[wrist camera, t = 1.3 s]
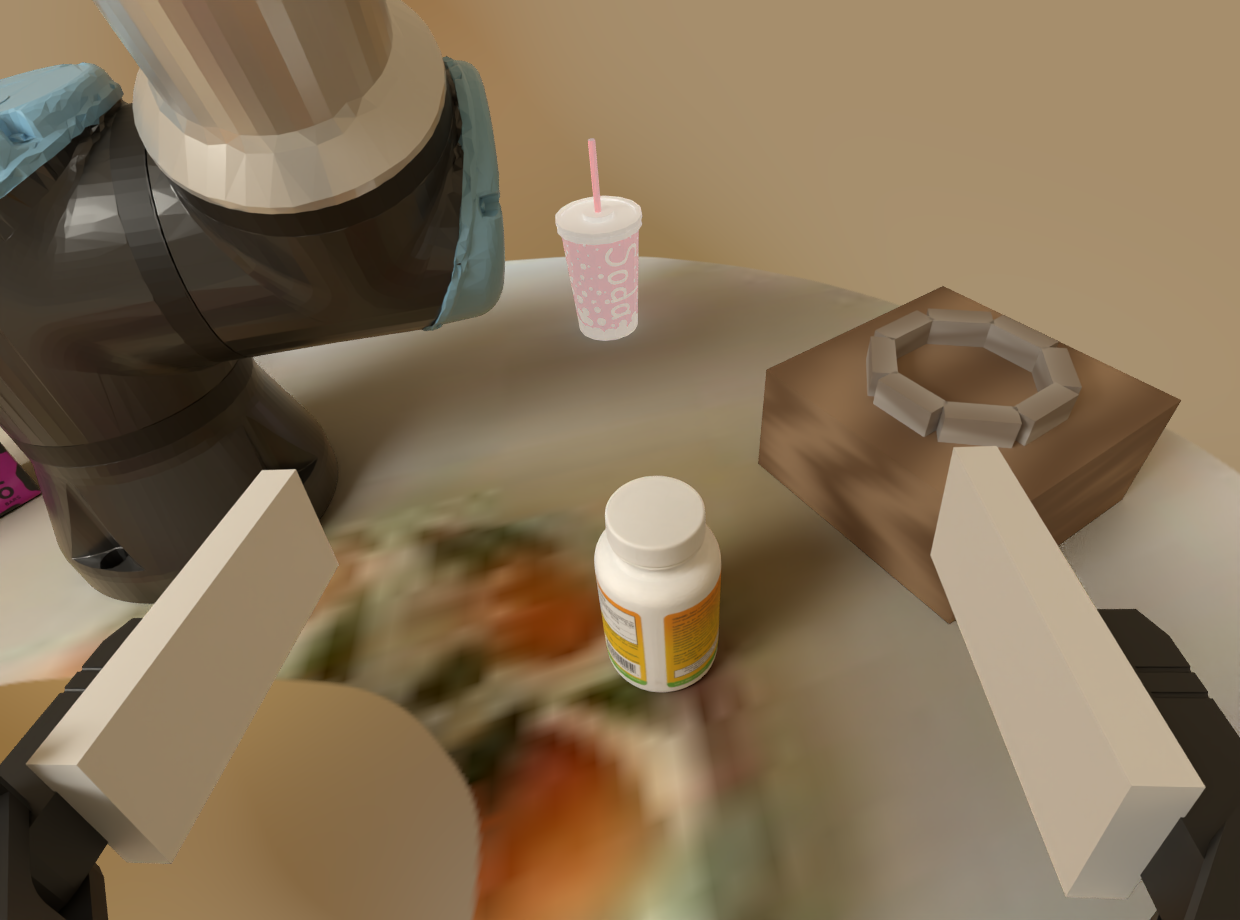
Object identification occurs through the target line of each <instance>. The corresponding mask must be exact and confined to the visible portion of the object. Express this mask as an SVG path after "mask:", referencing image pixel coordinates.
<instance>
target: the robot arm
mask: <svg viewBox="0 0 1240 920" xmlns="http://www.w3.org/2000/svg"><path fill="white" fill-rule="evenodd" d="M93 2H94V3H95V4H96V6H97V7H98V9H99V10H100V12H101V13H102V14H103V16H104V17H105V19H106V20H107V21H108V23H109V24H110V26H111V27H112V29H113V30H114V32H115V33H116V34H117V36H118V37H119V38H120V40H121V41H122V43H123V44H124V46H125V47H126V48H127V50H128V51H129V53H130V54H131V55H132V57H133V58H134V60H135V61H136V63H137V64H138V65H139V67H140V69H139V71H138V73H137V77H136V82H135V86H134V91H133V103H131V104H128V103H126V102H124V101H123V100H122V96H123V91H122V89H121V87H120V85H119V84H117V83H116V82H114V81H113V80H112V79H111V77H110V76H109V75H108V74H107V73H106V72H105V71H104V70H103V69H102V68H100V67H99V66H97V65H95V64H90V63H80V64H78V65H72V64H62V65H55V66H51V67H46V68H42V69H37V70H33V71H29V72H26V73H22V74H18V75H15V76H11V77H8V78H4V79H1V80H0V426H1V428H2V429H3V430H4V431H5V432H6V433H7V434H8V435H9V436H10V437H11V439H12V440H13V441H14V442H15V443H16V444H17V446H18V447H19V448H20V449H21V450H22V451H23V452H24V454H25V455H26V456H27V457H28V458H29V459H30V461H31V463H32V464H33V467H34V470H35V473H36V476H37V479H38V483H39V486H40V489H41V492H42V495H43V498H44V501H45V505H46V508H47V511H48V514H49V517H50V520H51V524H52V527H53V530H54V533H55V536H56V539H57V542H58V545H59V547H60V549H61V551H62V553H63V555H64V556H65V558H66V559H67V561H68V562H69V563H70V564H71V565H72V566H73V567H74V568H75V569H76V570H77V571H78V572H79V573H80V575H81V576H82V577H83V578H84V579H85V580H86V581H87V582H88V583H89V584H90V585H91V586H92V587H93V588H95V589H96V590H97V591H99V592H100V593H102V594H104V595H106V596H109V597H111V598H114V599H118V600H122V601H127V602H133V603H155V604H154V605H153V606H152V607H151V609H150V610H149V611H148V612H147V614H146V615H145V616H144V617H143V618H132V619H131V620H130V621H128V622H127V623H126V624H125V625H123V626H122V627H121V628H119V629H118V630H117V631H116V632H114V633H113V634H112V635H110V636H109V637H108V638H107V639H105V640H104V641H103V642H102V643H101V644H100V646H99V647H98V648H97V649H96V650H95V652H94V653H93V654H92V655H91V656H90V658H89V659H88V660H87V661H86V662H85V664H84V665H83V666H82V671H81V672H77V673H76V674H75V676H74V677H73V678H72V679H71V680H70V682H69V683H68V684H67V685H66V686H65V691H64V693H60V694H59V695H58V696H57V697H56V698H55V700H54V701H53V702H52V703H51V705H50V706H49V707H48V708H47V709H46V710H45V712H44V713H43V714H42V715H41V716H40V717H39V719H38V720H37V721H36V722H35V724H34V725H33V726H32V727H31V728H30V729H29V731H28V732H27V733H26V735H24V737H23V738H22V739H21V740H20V741H19V743H18V744H17V745H16V746H15V747H14V749H13V750H12V751H11V752H10V754H9V755H8V756H7V757H6V758H5V760H4V761H3V762H2V763H1V764H0V920H108V914H107V904H106V893H105V883H104V876H103V874H102V872H101V870H100V867H99V866H98V865H97V864H96V863H95V862H96V861H97V859H98V858H99V856H100V854H101V853H102V851H103V850H104V848H105V847H106V845H107V844H108V845H110V846H111V847H112V848H113V849H114V850H115V851H116V852H117V853H118V854H119V855H120V856H121V857H122V858H123V859H124V860H125V861H126V862H134V863H162V864H171V863H172V862H173V860H174V858H175V857H176V855H177V853H178V851H179V849H180V848H181V846H182V844H183V842H184V840H185V839H186V837H187V835H188V833H189V831H190V830H191V828H192V826H193V824H194V823H195V821H196V819H197V817H198V815H199V814H200V812H201V810H202V808H203V806H204V805H205V802H206V801H207V799H208V797H209V796H210V794H211V792H212V790H213V789H214V787H215V785H216V783H217V781H218V780H219V778H220V776H221V774H222V773H223V771H224V769H225V767H226V765H227V764H228V762H229V760H230V758H231V756H232V754H233V753H234V751H235V749H236V747H237V746H238V744H239V742H240V740H241V739H242V737H243V735H244V733H245V731H246V730H247V728H248V726H249V724H250V722H251V721H252V719H253V717H254V715H255V714H256V712H257V710H258V708H259V706H260V705H261V703H262V701H263V699H264V697H265V696H266V694H267V692H268V690H269V688H270V687H271V685H272V683H273V681H274V680H275V678H276V676H277V674H278V672H279V671H280V669H281V667H282V665H283V663H284V662H285V660H286V658H287V656H288V655H289V653H290V651H291V649H292V647H293V646H294V644H295V642H296V640H297V638H298V637H299V635H300V633H301V631H302V630H303V628H304V626H305V624H306V622H307V621H308V619H309V617H310V615H311V613H312V612H313V610H314V608H315V606H316V604H317V603H318V601H319V599H320V597H321V596H322V594H323V592H324V590H325V588H326V587H327V585H328V583H329V581H330V579H331V578H332V576H333V574H334V572H335V571H336V569H337V567H338V565H339V564H338V562H337V560H336V557H335V555H334V553H333V551H332V548H331V546H330V544H329V542H328V540H327V537H326V535H325V533H324V531H323V528H322V526H321V524H320V522H319V519H320V518H321V516H322V515H323V513H324V512H325V510H326V508H327V507H328V505H329V503H330V501H331V499H332V496H333V494H334V491H335V488H336V484H337V479H338V465H337V460H336V457H335V454H334V452H333V450H332V448H331V446H330V444H329V441H328V439H327V437H326V435H325V433H324V431H323V429H322V428H321V426H320V425H319V423H318V422H317V421H316V420H315V418H314V417H313V416H312V415H311V414H310V413H309V412H307V411H306V410H305V409H304V408H303V407H302V406H301V405H300V404H299V403H298V402H297V401H296V400H295V399H294V398H293V397H291V396H290V395H289V394H288V393H287V392H286V391H285V390H284V389H283V388H282V387H281V386H280V385H279V384H278V383H277V382H276V381H274V380H273V379H272V378H271V377H270V376H269V375H268V374H267V373H266V372H265V371H264V370H263V369H262V368H261V367H260V366H259V365H258V364H257V363H256V362H255V360H254V358H253V357H254V356H260V355H266V354H272V353H278V352H284V351H290V350H296V349H301V348H307V347H313V346H319V345H325V344H331V343H337V342H343V341H350V340H356V339H363V338H369V337H376V336H382V335H389V334H395V333H402V332H408V331H415V330H421V329H422V330H424V331H429V330H435V329H438V328H440V327H442V325H443V324H446V323H451V322H455V321H460V320H464V319H469V318H473V317H477V316H481V315H483V314H485V313H487V312H488V311H489V310H491V309H492V308H493V307H494V306H495V304H496V303H497V301H498V300H499V298H500V295H501V293H502V289H503V284H504V273H505V249H504V230H503V217H502V211H501V206H500V204H499V197H500V192H499V173H498V164H497V156H496V149H495V142H494V135H493V130H492V123H491V117H490V111H489V107H488V102H487V98H486V93H485V89H484V85H483V82H482V80H481V77H480V74H479V72H478V71H477V69H476V68H475V67H474V66H473V65H472V64H470V63H468V62H465V61H456V60H453V59H451V58H449V57H447V56H446V57H443V58H442V54H441V51H440V49H439V47H438V45H437V42H436V41H435V39H434V36H433V35H432V33H431V31H430V29H429V27H428V26H427V24H426V23H425V22H424V21H423V20H422V19H421V18H420V16H419V15H418V14H417V13H416V12H415V11H414V10H412V9H411V8H410V7H409V6H407V5H406V4H405V3H404V2H403V1H401V0H93ZM930 555H931V558H932V560H933V563H934V565H935V568H936V570H937V573H938V575H939V578H940V581H941V583H942V586H943V588H944V591H945V593H946V596H947V598H948V601H949V603H950V606H951V608H952V611H953V613H954V616H955V618H956V621H957V623H958V626H959V629H960V631H961V634H962V636H963V639H964V641H965V644H966V646H967V649H968V651H969V654H970V656H971V659H972V661H973V664H974V666H975V669H976V672H977V674H978V677H979V679H980V682H981V684H982V687H983V689H984V692H985V694H986V697H987V699H988V702H989V704H990V707H991V709H992V712H993V714H994V717H995V720H996V722H997V725H998V727H999V730H1000V732H1001V735H1002V737H1003V740H1004V742H1005V745H1006V747H1007V750H1008V752H1009V755H1010V757H1011V760H1012V763H1013V765H1014V768H1015V770H1016V773H1017V775H1018V778H1019V780H1020V783H1021V785H1022V788H1023V790H1024V793H1025V795H1026V798H1027V800H1028V803H1029V806H1030V808H1031V811H1032V813H1033V816H1034V818H1035V821H1036V823H1037V826H1038V828H1039V831H1040V833H1041V836H1042V838H1043V841H1044V843H1045V846H1046V848H1047V851H1048V854H1049V856H1050V859H1051V861H1052V864H1053V866H1054V869H1055V871H1056V874H1057V876H1058V879H1059V881H1060V884H1061V886H1062V889H1063V891H1064V894H1065V897H1076V898H1103V899H1128V897H1129V896H1130V894H1131V893H1132V891H1133V890H1134V889H1135V887H1136V886H1137V884H1138V883H1139V882H1140V880H1141V879H1142V880H1143V882H1144V884H1145V886H1146V888H1147V890H1148V892H1149V894H1150V896H1151V898H1152V901H1153V903H1154V905H1155V907H1156V909H1157V911H1156V912H1155V914H1154V915H1153V916H1152V918H1151V919H1150V920H1240V737H1239V736H1238V734H1237V733H1236V732H1235V730H1234V729H1233V727H1232V726H1231V724H1230V723H1229V721H1228V720H1227V719H1226V717H1225V716H1224V714H1223V713H1222V711H1221V710H1220V708H1219V707H1218V706H1217V704H1216V703H1215V701H1214V700H1213V699H1210V698H1209V697H1208V691H1207V690H1206V688H1205V687H1204V685H1203V684H1202V683H1201V681H1200V680H1199V678H1198V677H1197V675H1196V674H1195V673H1192V672H1191V671H1190V665H1189V664H1188V662H1187V661H1186V659H1185V658H1184V657H1183V655H1182V654H1181V652H1180V651H1179V649H1178V648H1177V646H1176V645H1175V644H1174V642H1173V641H1172V639H1171V638H1170V636H1169V635H1168V634H1166V633H1165V632H1164V631H1163V630H1161V629H1160V628H1159V627H1158V626H1156V625H1155V624H1154V623H1153V622H1151V621H1150V620H1149V619H1148V618H1146V617H1145V616H1144V615H1143V614H1141V613H1140V612H1139V611H1138V610H1136V609H1096V607H1095V606H1094V604H1093V602H1092V601H1091V599H1090V598H1089V596H1088V594H1087V593H1086V591H1085V589H1084V588H1083V586H1082V585H1081V583H1080V581H1079V580H1078V578H1077V576H1076V575H1075V573H1074V571H1073V570H1072V568H1071V567H1070V565H1069V563H1068V562H1067V560H1066V558H1065V557H1064V555H1063V553H1062V552H1061V550H1060V549H1059V547H1058V545H1057V544H1056V542H1055V540H1054V539H1053V537H1052V536H1051V534H1050V532H1049V531H1048V529H1047V527H1046V526H1045V524H1044V522H1043V521H1042V519H1041V518H1040V516H1039V514H1038V513H1037V511H1036V509H1035V508H1034V506H1033V504H1032V503H1031V501H1030V500H1029V498H1028V496H1027V495H1026V493H1025V491H1024V490H1023V488H1022V487H1021V485H1020V483H1019V482H1018V480H1017V478H1016V477H1015V475H1014V473H1013V472H1012V470H1011V469H1010V467H1009V465H1008V464H1007V462H1006V460H1005V459H1004V457H1003V455H1002V454H1001V452H1000V451H999V449H998V447H997V446H977V447H953V452H952V457H951V461H950V466H949V471H948V475H947V480H946V484H945V489H944V494H943V498H942V503H941V508H940V512H939V517H938V522H937V526H936V531H935V536H934V540H933V545H932V550H931V554H930Z"/></svg>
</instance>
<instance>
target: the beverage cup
mask: <svg viewBox="0 0 1240 920" xmlns="http://www.w3.org/2000/svg"><path fill="white" fill-rule="evenodd" d="M588 147H589V157H590V167H591V176H592V177H591V178H592V188H593V197H588V198H584V199H581V200H577V201H573V202H571V203H569V204H568V205H566V206H564V207H562V208H561V209H560V210H559V211H558V213H557V214H556V226H557V231H558V234H559V235H560V236H561V237H562V240H563V245H564V250H565V256H566V261H567V266H568V271H569V276H570V281H571V286H572V291H573V296H574V301H575V306H576V311H577V316H578V321H579V326H580V330H581V332H582V333H583V334H584V335H585V336H587V337H589V338H592V339H595V340H603V341H607V340H616V339H619V338H622V337H625V336H627V335H629V334H630V333H632V332H633V331H634V330H635V328H636V327H637V325H638V239H639V238H638V237H639V236H638V235H639V228H640V227H641V225H642V222H641V218H642V212H641V208H640V206H639V205H638V204H636V203H635V202H634V201H632V200H629V199H625V198H622V197H614V196H600V191H599V179H598V168H597V157H596V145H595V139H593V138H592V139H588Z"/></svg>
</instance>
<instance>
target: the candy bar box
mask: <svg viewBox="0 0 1240 920" xmlns="http://www.w3.org/2000/svg"><path fill="white" fill-rule="evenodd" d="M40 493H42V492H41V490H40V489H39V487H38V486H37V485H36V483H35V482H34V481H33V480H32V479H31V478H30V476H29V475H28V474H27V473H26V472H25V471H24V469H23V468H22V467H21V466H20V465H19V463H18V462H17V461H16V460H15V459H14V457H13V456H12V455H11V454H10V453H9V452H8V451H7V449H6V448H5V447H4V446H3V445H2V444H1V443H0V516H2V515H4V514H6V513H7V512H9V511H11V510H13V509H15V508H16V507H18V506H20V505H22V504H23V503H25V502H27V501H29V500H30V499H32V498H34V497H36V496H37V495H39V494H40Z"/></svg>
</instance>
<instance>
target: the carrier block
mask: <svg viewBox="0 0 1240 920" xmlns="http://www.w3.org/2000/svg"><path fill="white" fill-rule="evenodd" d="M1180 402H1181V400H1180V399H1178V398H1175V397H1173V396H1171V395H1169V394H1167V393H1165V392H1163V391H1161V390H1159V389H1157V388H1154V387H1153V386H1150V385H1148V384H1146V383H1144V382H1142V381H1140V380H1138V379H1136V378H1134V377H1131V376H1129V375H1127V374H1125V373H1123V372H1121V371H1119V370H1117V369H1115V368H1113V367H1111V366H1108V365H1106V364H1104V363H1102V362H1100V361H1098V360H1096V359H1094V358H1092V357H1090V356H1088V355H1085V354H1083V353H1082V352H1079V351H1077V350H1075V349H1073V348H1071V347H1069V346H1067V345H1065V344H1063V343H1061V342H1059V341H1057V340H1055V339H1053V338H1051V337H1048V336H1047V335H1045V334H1042V333H1040V332H1038V331H1036V330H1034V329H1032V328H1030V327H1028V326H1026V325H1024V324H1021V323H1020V322H1017V321H1015V320H1013V319H1011V318H1009V317H1007V316H1005V315H1002V314H1000V313H998V312H996V311H994V310H992V309H990V308H987V307H985V306H983V305H981V304H979V303H977V302H975V301H973V300H971V299H969V298H967V297H965V296H963V295H960V294H958V293H956V292H954V291H952V290H950V289H948V288H946V287H944V286H943V287H940V288H938V289H936V290H934V291H932V292H930V293H928V294H926V295H923V296H921V297H919V298H917V299H915V300H913V301H911V302H909V303H907V304H904V305H902V306H900V307H898V308H896V309H894V310H892V311H890V312H888V313H885V314H883V315H881V316H879V317H877V318H875V319H873V320H871V321H869V322H866V323H864V324H862V325H860V326H858V327H856V328H854V329H852V330H850V331H847V332H845V333H843V334H841V335H839V336H837V337H835V338H833V339H831V340H828V341H826V342H824V343H822V344H820V345H818V346H816V347H814V348H812V349H810V350H807V351H805V352H803V353H801V354H799V355H797V356H795V357H793V358H791V359H788V360H786V361H784V362H782V363H780V364H778V365H776V366H774V367H772V368H769V369H767V370H766V381H765V392H764V404H763V415H762V427H761V438H760V449H759V461H758V464H760V465H761V466H762V467H763V468H764V469H766V470H767V471H768V472H769V473H770V474H771V475H773V476H774V477H775V478H776V479H777V480H779V481H780V482H781V483H782V484H783V485H785V486H786V487H787V488H788V489H789V490H790V491H792V492H793V493H794V494H795V495H796V496H798V497H799V498H800V499H801V500H802V501H804V502H805V503H806V504H807V505H808V506H810V507H811V508H812V509H813V510H814V511H815V512H817V513H818V514H819V515H820V516H821V517H823V518H824V519H825V520H826V521H827V522H829V523H830V524H831V525H832V526H833V527H834V528H836V529H837V530H838V531H839V532H840V533H842V534H843V535H844V536H845V537H846V538H848V539H849V540H850V541H851V542H852V543H853V544H855V545H856V546H857V547H858V548H859V549H861V550H862V551H863V552H864V553H865V554H867V555H868V556H869V557H870V558H871V559H872V560H874V561H875V562H876V563H877V564H878V565H880V566H881V567H882V568H883V569H884V570H886V571H887V572H888V573H889V574H890V575H892V576H893V577H894V578H895V579H896V580H897V581H899V582H900V583H901V584H902V585H903V586H905V587H906V588H907V589H908V590H909V591H911V592H912V593H913V594H914V595H915V596H916V597H918V598H919V599H920V600H921V601H922V602H924V603H925V604H926V605H927V606H928V607H930V608H931V609H932V610H933V611H934V612H935V613H937V614H938V615H939V616H940V617H941V618H943V619H944V620H945V621H946V622H947V623H949V624H950V623H951V622H953V621H954V620H956V618H955V616H954V613H953V611H952V608H951V606H950V603H949V601H948V598H947V596H946V593H945V591H944V588H943V586H942V583H941V581H940V578H939V575H938V573H937V570H936V568H935V565H934V563H933V560H932V558H931V555H930V554H931V550H932V545H933V540H934V536H935V531H936V526H937V522H938V517H939V512H940V508H941V503H942V498H943V494H944V489H945V484H946V480H947V475H948V471H949V466H950V461H951V457H952V452H953V447H977V446H997V447H998V449H999V451H1000V452H1001V454H1002V455H1003V457H1004V459H1005V460H1006V462H1007V464H1008V465H1009V467H1010V469H1011V470H1012V472H1013V473H1014V475H1015V477H1016V478H1017V480H1018V482H1019V483H1020V485H1021V487H1022V488H1023V490H1024V491H1025V493H1026V495H1027V496H1028V498H1029V500H1030V501H1031V503H1032V504H1033V506H1034V508H1035V509H1036V511H1037V513H1038V514H1039V516H1040V518H1041V519H1042V521H1043V522H1044V524H1045V526H1046V527H1047V529H1048V531H1049V532H1050V534H1051V536H1052V537H1053V539H1054V540H1055V542H1056V544H1057V545H1060V544H1061V543H1062V542H1064V541H1065V540H1067V539H1068V538H1069V537H1071V536H1072V535H1073V534H1075V533H1076V532H1078V531H1079V530H1080V529H1082V528H1083V527H1085V526H1086V525H1087V524H1089V523H1090V522H1092V521H1093V520H1094V519H1096V518H1097V517H1098V516H1100V515H1101V514H1103V513H1104V512H1105V511H1107V510H1108V509H1110V508H1111V507H1112V506H1114V505H1115V504H1116V503H1118V502H1119V501H1121V500H1122V498H1123V497H1124V495H1125V493H1126V492H1127V490H1128V488H1129V487H1130V485H1131V483H1132V482H1133V480H1134V478H1135V477H1136V475H1137V473H1138V472H1139V470H1140V468H1141V467H1142V465H1143V463H1144V462H1145V460H1146V458H1147V457H1148V455H1149V453H1150V452H1151V450H1152V448H1153V447H1154V445H1155V443H1156V442H1157V440H1158V438H1159V437H1160V435H1161V433H1162V432H1163V430H1164V428H1165V427H1166V425H1167V423H1168V422H1169V420H1170V418H1171V417H1172V415H1173V413H1174V412H1175V410H1176V408H1177V406H1178V405H1179V403H1180Z"/></svg>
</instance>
